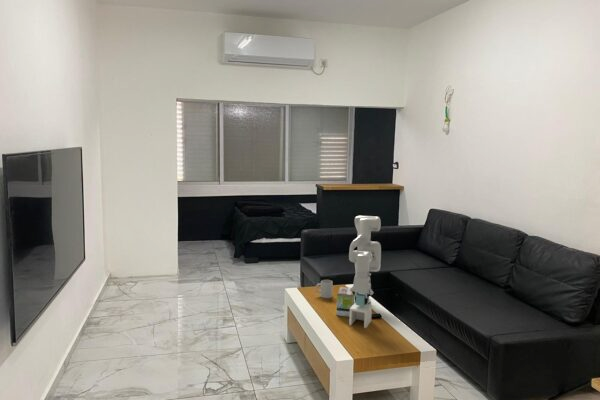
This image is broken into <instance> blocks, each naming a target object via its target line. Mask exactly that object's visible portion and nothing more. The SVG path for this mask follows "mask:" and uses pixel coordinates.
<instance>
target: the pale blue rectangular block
mask: <svg viewBox="0 0 600 400" xmlns="http://www.w3.org/2000/svg"><path fill="white" fill-rule="evenodd" d="M369 293H370V292H369ZM369 293H368V294H369ZM369 299H370V296H369V297H368V301H369ZM356 305H359V306H364V305H365V293H358V294H357V295H356Z"/></svg>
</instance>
